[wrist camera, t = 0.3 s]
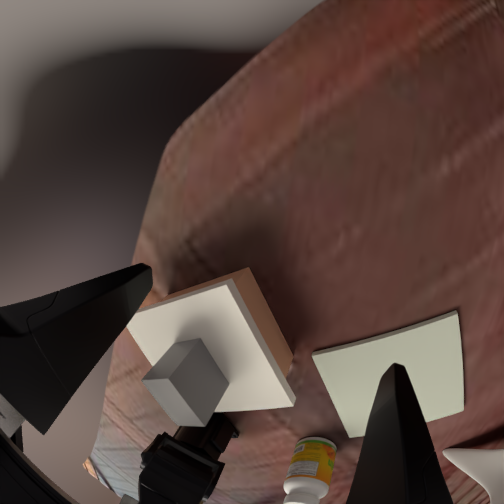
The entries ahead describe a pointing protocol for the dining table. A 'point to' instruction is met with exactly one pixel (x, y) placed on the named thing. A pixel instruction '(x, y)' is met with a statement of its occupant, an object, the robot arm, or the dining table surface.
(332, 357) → the mat
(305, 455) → the supplement bottle
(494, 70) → the dining table surface
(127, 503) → the coffeepot
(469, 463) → the white spiked star
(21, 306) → the robot arm
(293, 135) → the dining table surface
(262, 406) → the lid
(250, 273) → the open wooden box
